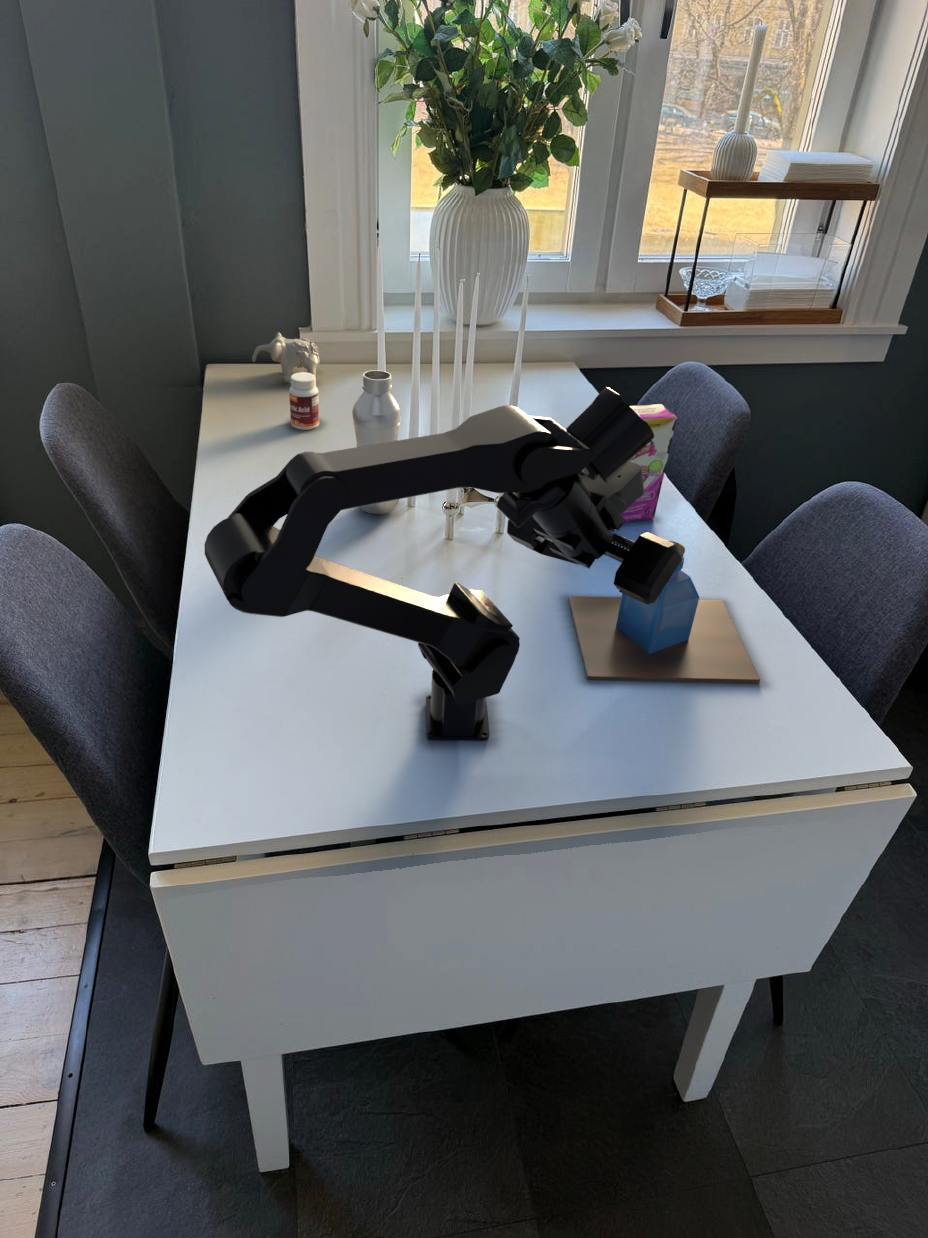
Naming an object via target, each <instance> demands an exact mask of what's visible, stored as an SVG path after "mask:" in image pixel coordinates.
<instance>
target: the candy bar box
mask: <svg viewBox="0 0 928 1238" xmlns="http://www.w3.org/2000/svg"><path fill="white" fill-rule="evenodd" d="M629 406H630V407H631V408H632V409H633V410H634V411H635V412H636V413H637V414H638V416H639V417H640V418H641V419H643V420H644V421H646V422H647V423H648V424H649V426H650V427H651V429H652V431H653V433H654V438H653V439H652V440H651V441H650V442H649V443H648V444H647V445H646V446H645V447H644V448H643V449H642V450H641V451H639V452H638V453H637V454H636V455H635V456H634V457H633V458H632V459H631V460H630V461H632V462H634V463H637V464H639V465H640V466H641V469H642V477H643V485H644V494H643V495H642V496H641V497H640V498H638V499H637V500H636V501H635V502H634V503H633V504H632V505H631V506H630V507H629V508H628V509H627V510H625V511H624V512H623V513H621V515H622V516H623V518H624V519H625V522H624V523H628V522H637V521H645V520H648V521H649V520H653V519H655V515H656V512H657V506H658V502H659V498H660V494H661V489H662V484H663V481H664V476H665V472H666V468H667V464H668V463H667V462H668V459H669V454H670V449H671V446H672V442H673V437H674V433H675V428H676V425H677V420H678V417H677V416H676V415H675V413H673V412H672V411H671V410H669V409H668V408H667V407H666V406H664V405H663V404H662V403H656V404H654V403H653V404H642V405H641V404H638V405H629Z"/></svg>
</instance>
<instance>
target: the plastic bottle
mask: <svg viewBox="0 0 928 1238" xmlns="http://www.w3.org/2000/svg"><path fill="white" fill-rule="evenodd" d="M361 388H362V390H363V392H362V393H361V395H360V396H358V398H357V399H356V401H355V403H354V404H353V407H352V411H351V415H352V421H353V428H354V433H355V440H356V442H355V443H356V447H362V446H368V445H374V444H380V443H386V442H392V441H398V438H399V432H400V425H401V417H402V412H401V409H400V406H399V404H398V402H397V401H396V399H395V398H394V396H393V395H392V393H390V391H392V389H393V384H392V374H391V373H390V372H389V371H385V370H379V369H372V370H367V371H365V372H364V373H363V374H362V384H361ZM399 503H400V499H398V500H393V501H387V502H382V503H377V504H372V505H366V506H361V507H358V508H359V509H360V510H361V511H363V512H366V513H368V514H374V515H380V514H381V515H383V514H388V513H391V512H392V511H394V510H395V509H396V508H397V506H398V505H399Z"/></svg>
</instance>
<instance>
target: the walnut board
mask: <svg viewBox="0 0 928 1238" xmlns="http://www.w3.org/2000/svg"><path fill="white" fill-rule="evenodd" d="M621 598H622V596H587V595H583V596H581V595H568V597H567V602H568V604H569V605H568V606H569V609H570V614H571V618H572V622H573V627H574V631H575V634H576V639H577V643H578V644H577V645H578V647H579V652H580V656H581V661H582V664H583V669H584V674H585V677H586V680H587V681H605V682H608V681H609V682H653V683H654V682H656V683H658V682H661V683H704V684H705V683H706V684H707V683H708V684H709V683H710V684H711V683H712V684H760V682H761V678H760V675H759V674H758V672H757V670H756V667H755V665H754V663H753V661H752V659H751V656H750V654H749V653H748V651H747V647H746V646H745V643H744V642H743V640H742V638H741V636H740V634H739V631H738V629H737V627H736V625H735V623H734V621H733V619H732V616H731V614H730V612H729V611H728V608H727V606H726V604H725V602H724V600H723V599H702V598H701V599H700V598H699V601H698V605H697V609H696V613H695V617H694V621H693V624H692V628H691V632H690V636H689V640H686V641H684V642H681V643H678V644H676V645H673V646H670V647H667V648H665V649H662V650H659V651H657V652H654V653H651V654H649V653H648V652H646V651H645V650H644V649H643V648H642V647H640V646H639V645H638V644H637V643H636V642H634V641H633V640H632V639H631V638H630V637H628V636H627V635H626V634H625V633H624V632H622V631H621V630H620V629H619V628H618V627H616V623H617V618H618V613H619V608H620V603H621Z"/></svg>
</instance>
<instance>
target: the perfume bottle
mask: <svg viewBox="0 0 928 1238" xmlns="http://www.w3.org/2000/svg"><path fill="white" fill-rule="evenodd" d="M669 541H670V542H672V543H675V544H676V545H677V547H678V549H679V550H680V552H681V556H682V561H681V562H680V564H679V565H678V567H677V568H676V570H675V571H674V573H673V575H672V576H671V578H670V579H669V581H668V582H667V584H666V585H665V587H664V589H663V590H662V592H661V593H660V595H659V596H658V598H657V600H656V601H655V602H654V603H651V604H648V605H647V604H644V603H642V602H640V601H637V600H635V599H633V598H631V597H629V596H627V595H625V594H623V593H621V597H622V598H621V603H620V608H619V613H618V618H617V623H616V627H618V628H619V629H620V630H621V631H622V632H624V633H625V634H626V635H627V636H628V637H630V638H631V639H632V640H633V641H634V642H636V643H637V644H638V645H639V646H640V647H642V648H643V649H644V650H645V651H646V652H648V653H649V654H651V653H654V652H657V651H659V650H662V649H665V648H667V647H670V646H673V645H676V644H678V643H681V642H684V641H686V640H689V636H690V632H691V628H692V624H693V621H694V617H695V613H696V609H697V605H698V601H699V599H700V595H699V593H698V591H697V589H696V586H695V583H694V582H693V580H692V578H691V576H690V575H688V574H687V573H686V572H684V571H683V570H682V569H683V568H684V564H685V557H684V555H685V553H686V548H685V546H683V544H681V543H679V542H677V541H672V540H669Z"/></svg>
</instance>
